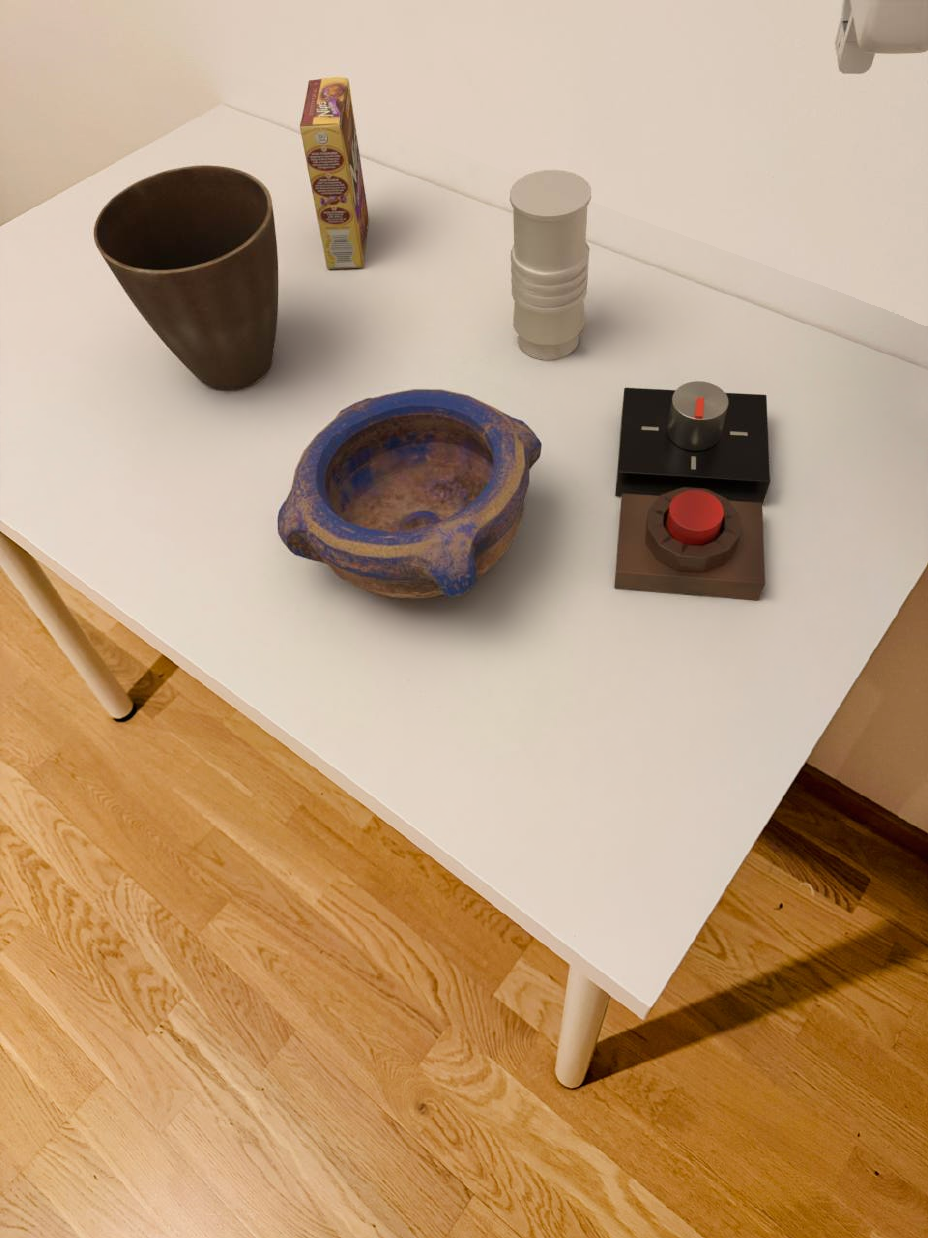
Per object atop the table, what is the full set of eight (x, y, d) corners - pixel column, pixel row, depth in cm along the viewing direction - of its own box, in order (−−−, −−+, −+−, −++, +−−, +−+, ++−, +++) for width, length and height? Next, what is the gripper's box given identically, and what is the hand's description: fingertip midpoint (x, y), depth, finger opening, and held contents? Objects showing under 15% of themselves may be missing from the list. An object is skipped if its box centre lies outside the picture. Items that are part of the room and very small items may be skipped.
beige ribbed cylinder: (596, 351, 86) (606, 203, 73) (528, 371, 85) (526, 224, 73) (568, 308, 90) (573, 161, 77) (502, 327, 89) (497, 181, 76)
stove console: (759, 420, 79) (767, 392, 77) (762, 506, 74) (771, 480, 71) (621, 412, 81) (624, 385, 79) (614, 496, 76) (617, 470, 73)
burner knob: (669, 410, 77) (675, 375, 73) (722, 415, 76) (730, 380, 73) (664, 448, 74) (670, 413, 71) (719, 453, 74) (727, 419, 70)
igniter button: (720, 506, 70) (723, 491, 68) (720, 547, 68) (724, 532, 66) (667, 503, 70) (670, 487, 69) (665, 543, 68) (668, 528, 67)
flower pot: (342, 348, 89) (308, 195, 75) (238, 442, 82) (180, 292, 69) (234, 299, 94) (184, 147, 81) (128, 383, 88) (55, 234, 75)
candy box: (367, 268, 96) (340, 123, 83) (327, 271, 96) (294, 126, 83) (372, 219, 101) (348, 74, 88) (334, 221, 101) (305, 77, 88)
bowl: (376, 440, 81) (358, 351, 73) (562, 497, 76) (565, 408, 68) (270, 590, 73) (236, 509, 64) (472, 666, 67) (463, 587, 59)
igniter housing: (756, 520, 73) (767, 486, 70) (759, 600, 69) (770, 569, 66) (620, 510, 75) (623, 477, 72) (614, 588, 71) (617, 557, 67)
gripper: (1057, -184, 36) (931, 159, 47) (974, -321, 47) (888, -16, 58) (889, -178, 36) (805, 158, 48) (846, -314, 48) (786, -15, 59)
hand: (850, 61), depth 53 cm, fingers closed
